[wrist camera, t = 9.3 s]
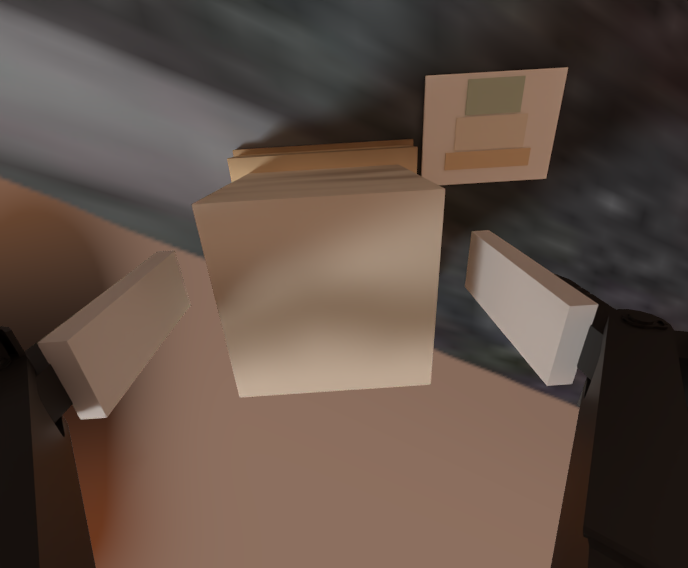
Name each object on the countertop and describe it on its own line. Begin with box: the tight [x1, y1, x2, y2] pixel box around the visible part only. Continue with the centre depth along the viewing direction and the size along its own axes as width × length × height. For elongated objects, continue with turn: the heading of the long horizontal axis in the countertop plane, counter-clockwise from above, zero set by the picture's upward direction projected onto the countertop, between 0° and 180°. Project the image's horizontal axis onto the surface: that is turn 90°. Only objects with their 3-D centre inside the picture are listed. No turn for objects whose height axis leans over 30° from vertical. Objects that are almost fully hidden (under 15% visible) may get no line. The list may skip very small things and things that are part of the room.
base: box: [227, 139, 418, 182], centre depth 21 cm, size 11×11×3 cm
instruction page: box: [421, 67, 568, 185], centre depth 20 cm, size 6×8×1 cm
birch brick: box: [192, 164, 445, 397], centre depth 16 cm, size 8×8×8 cm
